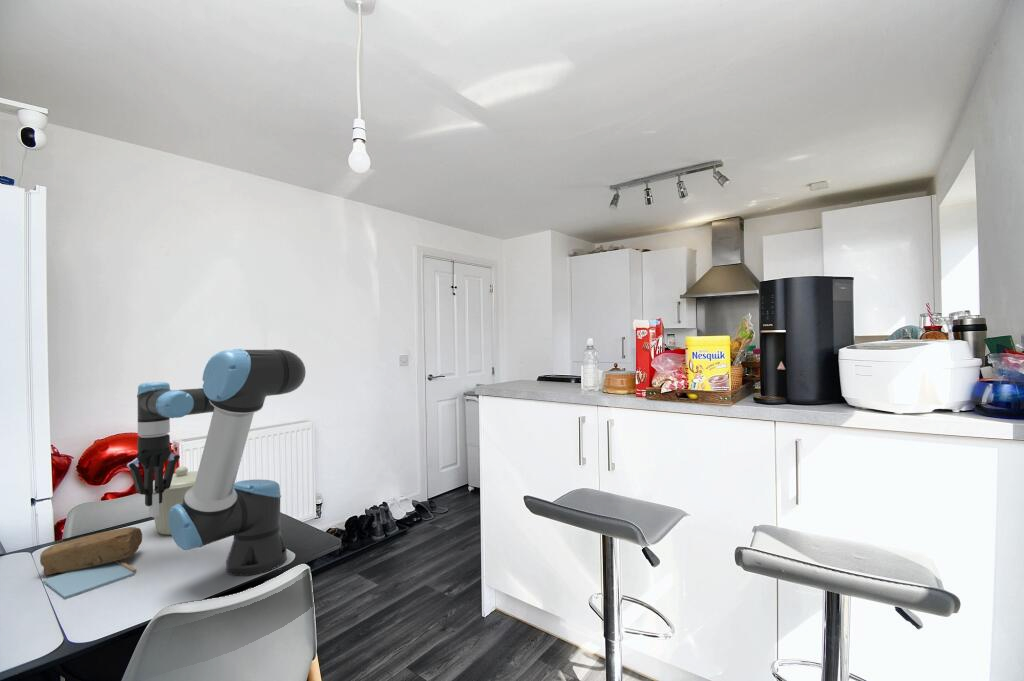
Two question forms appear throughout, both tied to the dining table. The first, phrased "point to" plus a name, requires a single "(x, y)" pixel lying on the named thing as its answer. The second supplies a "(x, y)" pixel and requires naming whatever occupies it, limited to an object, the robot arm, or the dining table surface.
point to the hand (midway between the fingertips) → (153, 515)
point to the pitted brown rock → (91, 550)
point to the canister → (173, 496)
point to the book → (89, 578)
